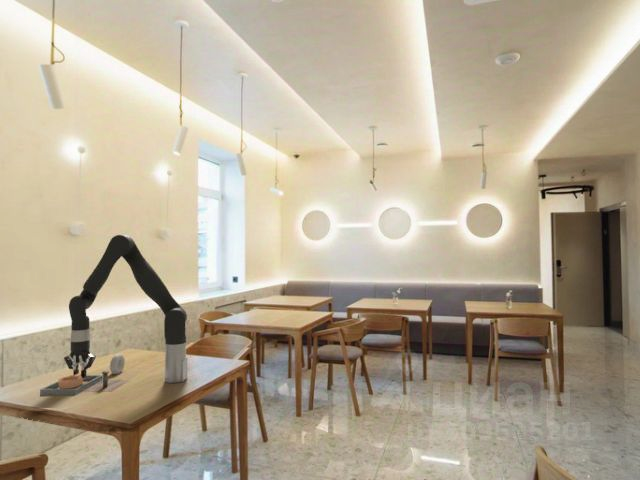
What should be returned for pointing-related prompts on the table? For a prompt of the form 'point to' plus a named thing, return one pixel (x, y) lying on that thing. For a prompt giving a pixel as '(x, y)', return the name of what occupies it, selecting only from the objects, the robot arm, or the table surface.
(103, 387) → the panel
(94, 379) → the tray
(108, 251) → the robot arm
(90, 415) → the table surface
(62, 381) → the ring
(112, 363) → the donut
